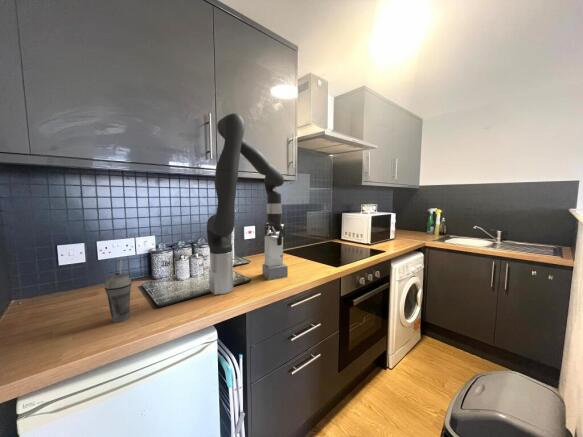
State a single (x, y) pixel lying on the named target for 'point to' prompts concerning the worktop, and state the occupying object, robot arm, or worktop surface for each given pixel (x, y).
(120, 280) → the beverage cup
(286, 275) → the charcoal block
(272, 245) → the skincare box
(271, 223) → the robot arm
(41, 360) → the worktop surface
